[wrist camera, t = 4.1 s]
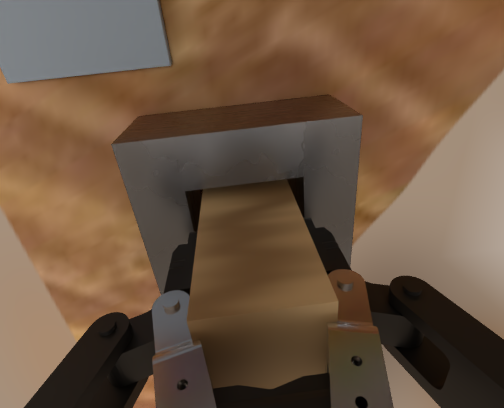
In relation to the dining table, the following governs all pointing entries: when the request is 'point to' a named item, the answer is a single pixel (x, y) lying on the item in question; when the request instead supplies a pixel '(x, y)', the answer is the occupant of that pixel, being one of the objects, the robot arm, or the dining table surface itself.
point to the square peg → (258, 288)
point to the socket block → (240, 165)
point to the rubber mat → (80, 37)
